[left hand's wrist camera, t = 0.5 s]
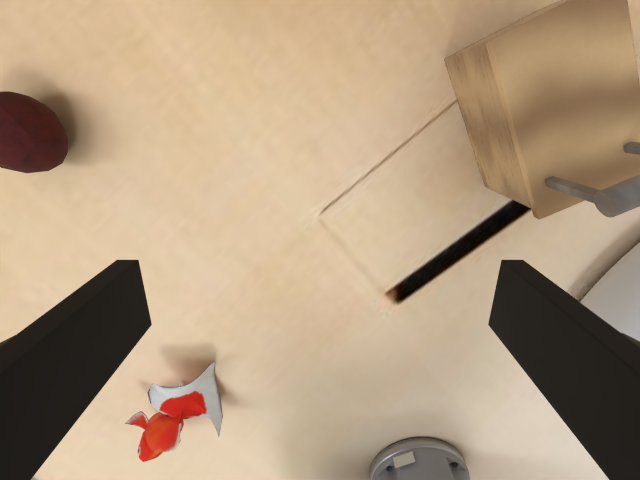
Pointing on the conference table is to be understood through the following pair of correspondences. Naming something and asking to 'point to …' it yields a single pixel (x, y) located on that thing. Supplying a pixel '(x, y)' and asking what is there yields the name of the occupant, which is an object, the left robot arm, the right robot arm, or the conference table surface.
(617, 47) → the lid
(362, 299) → the conference table surface
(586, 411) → the left robot arm
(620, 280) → the projector
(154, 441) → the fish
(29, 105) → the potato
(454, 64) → the chest
